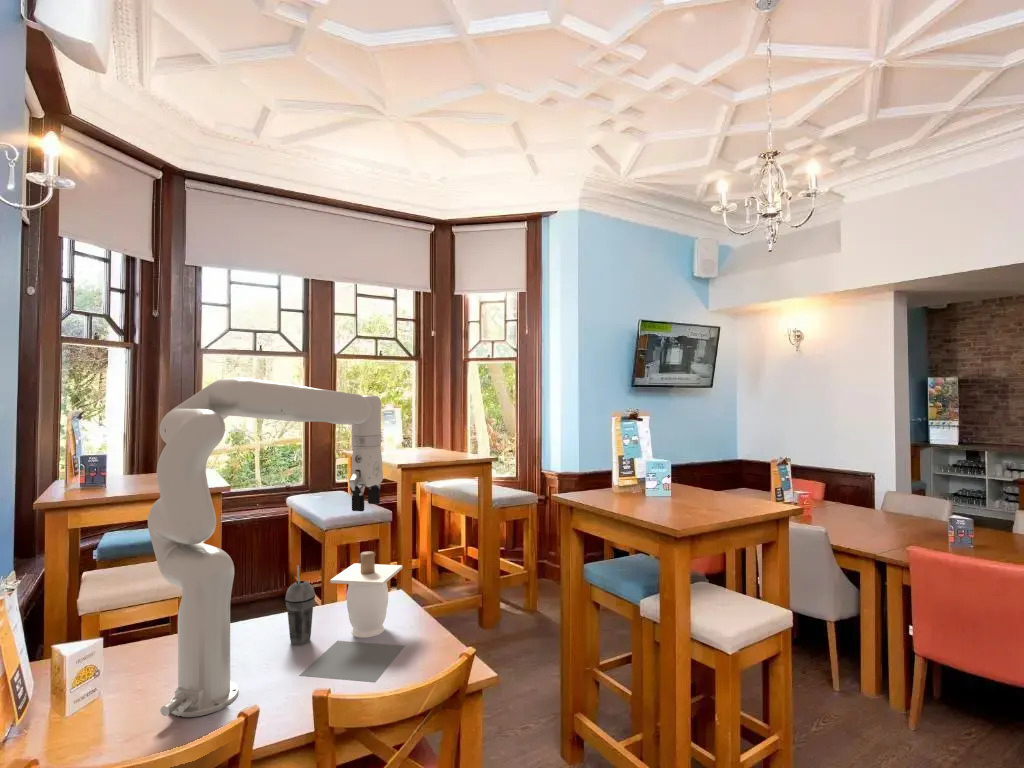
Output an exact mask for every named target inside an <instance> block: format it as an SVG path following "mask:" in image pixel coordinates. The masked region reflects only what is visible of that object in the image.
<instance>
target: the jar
mask: <svg viewBox="0 0 1024 768" xmlns="http://www.w3.org/2000/svg"><path fill="white" fill-rule="evenodd" d="M388 604H389V588H388V582H386V583H385V584H384V585H383V586H380V585H360V584H348V586H347V592H346V608H347V613H348V619H349V624H350V625H351V627H352V629H351V632H350V634H351V635H352V636H353V637H357V638H370V637H371V638H372V637H375V636H378V635H382V633H384V631H385V626H384V623H385V620H386V617H387V608H388Z"/></svg>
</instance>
